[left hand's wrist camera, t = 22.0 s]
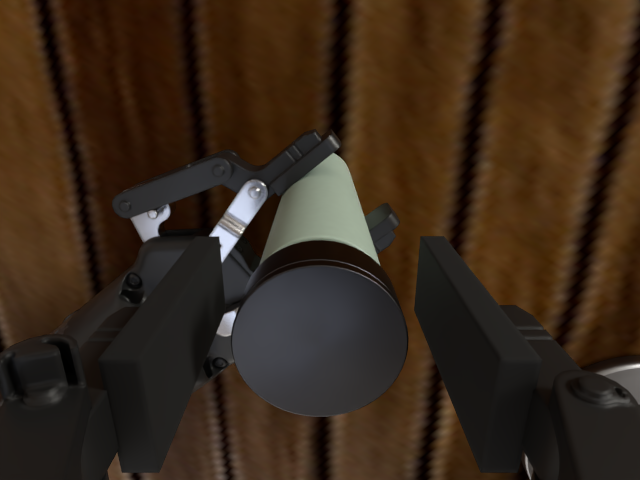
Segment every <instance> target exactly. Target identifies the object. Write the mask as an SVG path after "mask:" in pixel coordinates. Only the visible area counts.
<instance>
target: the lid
mask: <svg viewBox="0 0 640 480" xmlns="http://www.w3.org/2000/svg"><path fill="white" fill-rule="evenodd" d="M231 349H232V355H233V358H234V362H235V365H236V367H237V369H238V371H239V373H240V375H241V376H242V378H243V380H244V381H245V382H246V384H247V385H248V386H249V387H250V388H251V389H252V390H253V391H254V392H255V393H256V394H257V395H258V396H260V397H261V398H262V399H264V400H265V401H266V402H268V403H270V404H272V405H274V406H275V407H278V408H280V409H282V410H285V411H288V412H291V413H294V414H299V415H305V416H315V417H320V416H334V415H340V414H344V413H348V412H351V411H354V410H357V409H359V408H361V407H364V406H366V405H368V404H369V403H371V402H372V401H374V400H376V399H377V398H378V397H380V396H381V395H382V394H383V393H384V392H385V391H386V390H387V389H388V388H389V387H390V386H391V385H392V384H393V382H394V381H395V380H396V378H397V377H398V375H399V373H400V371H401V370H402V367H403V365H404V362H405V359H406V355H407V350H408V331H407V326H406V322H405V318H404V315H403V313H402V310H401V307H400V304H399V301H398V299H397V296H396V293H395V290H394V288H393V285H392V283H391V281H390V279H389V277H388V276H387V274H386V272H385V271H384V270H383V269H382V267H381V266H380V265H379V264H378V263H377V262H376V261H375V260H374V259H373V258H371V257H370V256H368V255H367V254H366V253H364V252H362V251H361V250H359V249H357V248H355V247H352V246H349V245H347V244H344V243H339V242H335V241H326V240H311V241H305V242H300V243H296V244H292V245H290V246H287V247H285V248H282V249H280V250H279V251H277V252H275V253H274V254H272V255H271V256H269V257H268V258H267V259H265V260H264V261H263V262H262V263H261V264H260V265H259V266H258V267H257V269H256V270H255V271H254V273H253V274H252V276H251V277H250V279H249V281H248V283H247V286H246V288H245V291H244V294H243V297H242V300H241V302H240V305H239V308H238V311H237V314H236V316H235V319H234V322H233V326H232V331H231Z"/></svg>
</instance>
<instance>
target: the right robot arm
mask: <svg viewBox="0 0 640 480" xmlns="http://www.w3.org/2000/svg"><path fill="white" fill-rule="evenodd" d="M340 146H341V142H340V140H339V139H338V137H337V136H336V135H335V133H334V132H333V131H332V130H329V131H328V132H326V133H325V134H324V135H323V136H320V135H319V133H318V132H317V131H316V129H314V130H310V131H307V132H304V133H303V134H302V135H301V136H299V137H298V138H297V139H296V140H295V141H293V142H292V143H291V144H290V145H289V146H287V147H286V148H285V149H284V150H283V151H281V152H280V153H279V154H278V155H276V156H275V157H274V158H273V159H272V160H270V161H269V162H268V163H267V164H265V165H262V166H254V165H251V164H249V163H248V162H246V161H244V160H243V159H241V158H240V157H239V155H238V154H237V153H236V152H235V151H233V150H223V151H221V152H218V153H215V154H213V155H210V156H208V157H205V158H202V159H200V160H197V161H195V162H192V163H189V164H187V165H184V166H182V167H179V168H176V169H174V170H171V171H168V172H166V173H163V174H161V175H158V176H155V177H153V178H150V179H148V180H145V181H142V182H140V183H138V184H136V185H134V186H132V187H130V188H129V189H127V190H125V191H123V192H122V193H120V194H118V195H117V196H115V197H114V199H113V202H112V206H113V209H114V211H115V213H116V214H117V215H119V216H120V217H123V218H130V219H131V220H132V222H133V224H134V226H135V228H136V230H137V231H138V233H139V235H140V237H141V239H142V240H143V242H144V243H143V244H142V246H141V247H140V249H139V252H138V256H137V259H136V261H135V263H134V264H133V265H132V266H131V267H129V268H128V269H127V270H126V271H125V272H123V273H122V274H121V275H120V276H119V277H117V278H116V279H115V280H114V281H113V282H111V283H110V284H109V285H108V286H107V287H105V288H104V289H103V290H102V291H101V292H99V293H98V294H97V295H96V296H95V297H93V298H92V299H91V300H90V301H89V302H87V303H86V304H85V305H84V306H83V307H82V308H80V309H79V310H77V311H75V312H73V313H72V314H70V315H69V316H68V317H66V318H65V319H64V321H63V323H62V324H61V325H60V326H59V327H57V328H56V329H55V330H54V331H52V332H51V333H50V334H63V335H69V336H71V337H73V338H74V339H76V340H77V343H78V347H79V348H80V347H81V346H82V345H83V344H84V343H85V342H86V341H88V338H89V337H90V336H91V335H92V334H93V333H94V332H95V331H97V328H98V327H99V326H100V325H101V324H102V323H103V322H104V321H105V319H106V318H107V317H108V316H110V315H112V314H113V313H115V312H117V311H118V310H120V309H122V308H124V307H140V306H141V305H142V304H143V302H144V301H145V300H146V299H147V297H148V296H149V295H150V294H151V292H152V291H153V290H154V289H155V287H156V286H157V285H158V284H159V282H160V281H161V280H162V279H163V277H164V276H165V275H166V274H167V272H168V271H169V270H170V269H171V267H172V266H173V265H174V263H175V262H176V261H177V260H178V258H179V257H180V256H181V255H182V253H183V252H184V251H185V250H186V248H187V247H188V246H189V245H190V243H191V242H192V241H193V240H194V238H195V237H196V236H219V239H220V250H221V261H222V273H223V284H224V296H225V307H226V311H225V313H224V316H223V318H222V321H221V323H220V326H219V328H218V330H217V333H216V335H215V338H214V340H213V343H212V345H211V347H210V350H209V352H208V355H207V357H206V360H205V362H204V365H203V367H202V369H201V372H200V374H199V377H198V379H197V382H196V384H195V386H194V389H193V391H192V393H193V392H195V391H196V390H198V389H199V388H201V387H202V386H203V385H205V384H206V383H208V382H209V381H211V380H212V379H213V378H215V377H216V376H217V375H218V374H220V373H221V372H222V371H223V370H224V369H225V368H227V367H228V366H229V365H231V364H233V363H235V362H234V358H233V355H232V349H231V331H232V326H233V322H234V319H235V316H236V314H237V311H238V308H239V305H240V302H241V300H242V297H243V294H244V291H245V288H246V286H247V283H248V281H249V279H250V277H251V276H252V274H253V273H254V271H255V270H256V269H257V267H258V266H259V264H260V261H261V258H260V257H259V256H257V255H256V254H255V253H254V251H253V249H252V247H251V245H250V243H249V241H248V240H247V239H246V238H245V237H244V236H243V235H242V234H243V232H244V231H245V229H246V227H247V226H248V224H249V223H250V222H251V220H252V219H253V217H254V216H255V215H256V213H257V212H258V210H259V209H260V207H261V206H262V205H263V203H264V202H265V201H266V200H267V199H268V198H269V197H271V196H272V195H273V194H274V193H276V194H277V195H278V196H280V195H281V194H282V193H284V192H285V191H286V190H287V189H289V188H290V187H291V186H292V185H293V184H295V183H296V182H297V181H299V180H300V179H301V178H302V177H304V176H305V175H306V174H307V173H309V172H310V171H311V170H312V169H314V168H315V167H316V166H317V165H319V164H320V163H321V162H322V161H324V160H325V159H326V158H327V157H329V156H330V155H331V154H332V153H334V152H335V151H336V150H337V149H338V148H339V147H340ZM221 184H222V185H224V186H225V187H227V188H229V189H231V190H232V191H234V192H236V193H238V194H237V196H236V197H235V199H234V200H233V202H232V203H231V205H230V206H229V208H228V209H227V211H226V212H225V214H224V215H223V216H222V218H221V219H220V221H219V222H218V224H217V225H216V227H215V228H201V229H178V230H165V227H164V222H165V220H166V219H168V218H169V217H170V216H171V215H172V214H173V213H174V212H175V210H176V203H175V201H178V200H180V199H183V198H186V197H188V196H191V195H194V194H196V193H199V192H202V191H204V190H207V189H210V188H212V187H215V186H218V185H221ZM365 220H366V223H367V227H368V230H369V233H370V236H371V239H372V242H373V245H374V248H375V251H376V254H378V253H379V252H380V251H382V250H384V249H385V248H387V247H388V246H389V245H390V244H391V243H392V241H393V240H394V238H395V237H396V236H395V234H394V232H393V230H394V229H395V228H396V227H397V226H398V225H399V223H400V221H399V219H398V217H397V215H396V214H395V212H394V211H393V210H392V208H391V207H390V206H389V204H388V203H384V204H382V205H380V206H379V207H378V208H376V209H375V210H373V211H372V212H371V213H369V214H368V215H367V216H365ZM50 334H49V335H50ZM2 403H3V397H2V394H1V391H0V407H1V405H2Z"/></svg>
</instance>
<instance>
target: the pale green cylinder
mask: <svg viewBox="0 0 640 480" xmlns="http://www.w3.org/2000/svg"><path fill="white" fill-rule="evenodd" d="M311 240H326V241H335V242H339V243H344V244H347V245H349V246H352V247H355V248H357V249H359V250H361V251H362V252H364V253H366V254H367V255H368V256H370V257H371V258H373V259H374V260H375V261H376V262H377V263H378V264H379V265H380V263H379V260H378V257H377V254H376V251H375V248H374V245H373V242H372V239H371V236H370V233H369V230H368V227H367V223H366V220H365V217H364V214H363V211H362V208H361V205H360V202H359V199H358V196H357V193H356V190H355V187H354V184H353V181H352V178H351V175H350V171H349V169H348V167H347V165H346V163H345V162H344V161H343V160H342V159H341V158H340V157H339V156H338V155H336V154H334V153H332V154H331V155H330V156H329V157H327V158H326V159H325V160H324V161H322V162H321V163H320V164H319V165H317V166H316V167H315V168H314V169H312V170H311V171H310V172H309V173H307V174H306V175H305V176H304V177H302V178H301V179H300V180H299V181H297V182H296V183H295V184H293V185H292V186H291V187H290V188H289V189H287V190H286V191H285V192H284V193H283V194H282V197H281V200H280V203H279V206H278V209H277V212H276V215H275V218H274V222H273V225H272V228H271V231H270V234H269V237H268V240H267V243H266V246H265V249H264V252H263V255H262V258H261V261H260V264H261V263H262V262H263V261H264V260H265V259H267V258H268V257H269V256H271V255H272V254H274V253H275V252H277V251H279V250H280V249H282V248H285V247H287V246H290V245H292V244H296V243H300V242H305V241H311ZM260 264H259V265H260Z"/></svg>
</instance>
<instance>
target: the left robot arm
mask: <svg viewBox="0 0 640 480" xmlns="http://www.w3.org/2000/svg"><path fill="white" fill-rule="evenodd" d="M225 311H226V307H225V296H224V284H223V273H222V261H221V250H220V239H219V236H196V237H195V238H194V240H193V241H192V242H191V243H190V245H189V246H188V247H187V248H186V250H185V251H184V252H183V253H182V255H181V256H180V257H179V258H178V260H177V261H176V262H175V263H174V265H173V266H172V267H171V269H170V270H169V271H168V272H167V274H166V275H165V276H164V277H163V279H162V280H161V281H160V282H159V284H158V285H157V286H156V287H155V289H154V290H153V291H152V292H151V294H150V295H149V296H148V297H147V299H146V300H145V301H144V302H143V304H142V305H141V306H140V307H124V308H122V309H120V310H118V311H117V312H115V313H113V314H112V315H110V316H108V317H107V318H106V319H105V321H104V322H103V323H102V324H101V325H100V326H99V327H98V328H97V331H95V332H94V333H93V334H92V335H91V336H90V337H89V338H88V341H86V342H85V343H84V344H83V345H82V346H81V347H80V348H79V347H78V343H77V340H76V339H74V338H73V337H71V336H69V335H63V334H50V335H42V336H38V337H34V338H30V339H27V340H24V341H22V342H19V343H17V344H14V345H12V346H11V347H9V348H7V349H6V350H4V351H3V352H1V353H0V391H1V394H2V397H3V403H2V405H1V407H0V480H109V477H108V473H107V470H108V468H109V466H110V464H111V462H112V460H113V459H114V457H115V455H116V453H117V452H118V456H119V461H120V466H121V470H122V473H159V472H160V469H161V467H162V464H163V462H164V460H165V457H166V455H167V452H168V450H169V447H170V445H171V443H172V440H173V438H174V435H175V433H176V430H177V428H178V425H179V423H180V421H181V418H182V416H183V413H184V411H185V408H186V406H187V404H188V401H189V399H190V396H191V394H192V391H193V389H194V386H195V384H196V382H197V379H198V377H199V374H200V372H201V369H202V367H203V365H204V362H205V360H206V357H207V355H208V352H209V350H210V347H211V345H212V343H213V340H214V338H215V335H216V333H217V330H218V328H219V326H220V323H221V321H222V318H223V316H224V313H225ZM414 311H415V313H416V316H417V318H418V321H419V323H420V326H421V328H422V330H423V333H424V335H425V338H426V340H427V343H428V345H429V347H430V350H431V352H432V355H433V357H434V360H435V362H436V365H437V367H438V369H439V372H440V374H441V377H442V379H443V382H444V384H445V386H446V389H447V391H448V394H449V396H450V399H451V401H452V404H453V406H454V408H455V411H456V413H457V416H458V418H459V421H460V423H461V425H462V428H463V430H464V433H465V435H466V438H467V440H468V443H469V445H470V447H471V450H472V452H473V455H474V457H475V460H476V462H477V464H478V467H479V469H480V472H481V473H518V470H519V466H520V461H522V464H523V466H524V469H525V471H526V473H527V475H528V476H529V478H530V480H640V356H625V357H617V358H613V359H608V360H604V361H601V362H598V363H595V364H592V365H589V366H587V367H585V368H582V369H581V368H580V367H579V366H578V365H577V364H576V363H575V362H574V361H573V360H572V359H571V357H570V356H569V355H568V354H567V353H566V352H565V351H564V350H563V349H562V347H561V346H560V345H559V344H558V343H557V342H556V341H555V340H552V336H551V335H550V334H549V333H548V332H547V331H546V330H544V329H543V326H542V325H541V324H540V323H539V322H538V321H537V320H536V319H535V318H534V317H533V315H531V314H529V313H528V312H526V311H524V310H522V309H521V308H519V307H517V306H516V305H498V304H497V302H496V301H495V300H494V299H493V297H492V296H491V295H490V294H489V292H488V291H487V290H486V289H485V287H484V286H483V285H482V284H481V282H480V281H479V280H478V279H477V277H476V276H475V275H474V274H473V272H472V271H471V270H470V269H469V267H468V266H467V265H466V263H465V262H464V261H463V260H462V258H461V257H460V256H459V255H458V253H457V252H456V251H455V250H454V248H453V247H452V246H451V245H450V243H449V242H448V241H447V240H446V238H445V237H444V236H421V239H420V250H419V261H418V273H417V284H416V296H415V307H414Z"/></svg>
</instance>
